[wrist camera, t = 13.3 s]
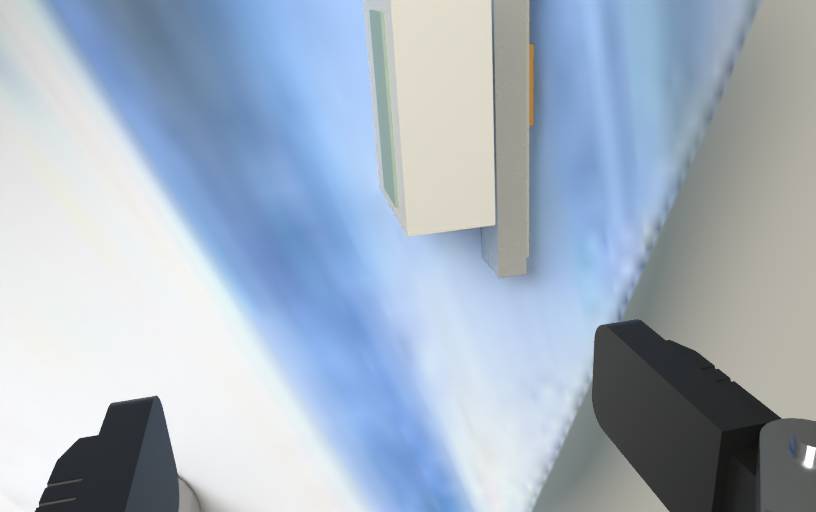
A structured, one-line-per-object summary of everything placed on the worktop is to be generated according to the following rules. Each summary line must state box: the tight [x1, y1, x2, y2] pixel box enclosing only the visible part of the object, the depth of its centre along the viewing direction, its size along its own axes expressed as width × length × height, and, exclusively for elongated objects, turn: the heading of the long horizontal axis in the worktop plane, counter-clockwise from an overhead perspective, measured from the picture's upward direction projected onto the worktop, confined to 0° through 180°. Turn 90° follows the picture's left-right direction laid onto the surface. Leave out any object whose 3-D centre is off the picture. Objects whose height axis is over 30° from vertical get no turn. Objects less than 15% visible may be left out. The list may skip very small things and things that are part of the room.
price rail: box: [481, 0, 534, 278], centre depth 34 cm, size 20×2×3 cm, turn 4°
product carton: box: [363, 0, 495, 237], centre depth 31 cm, size 4×10×8 cm, turn 4°
